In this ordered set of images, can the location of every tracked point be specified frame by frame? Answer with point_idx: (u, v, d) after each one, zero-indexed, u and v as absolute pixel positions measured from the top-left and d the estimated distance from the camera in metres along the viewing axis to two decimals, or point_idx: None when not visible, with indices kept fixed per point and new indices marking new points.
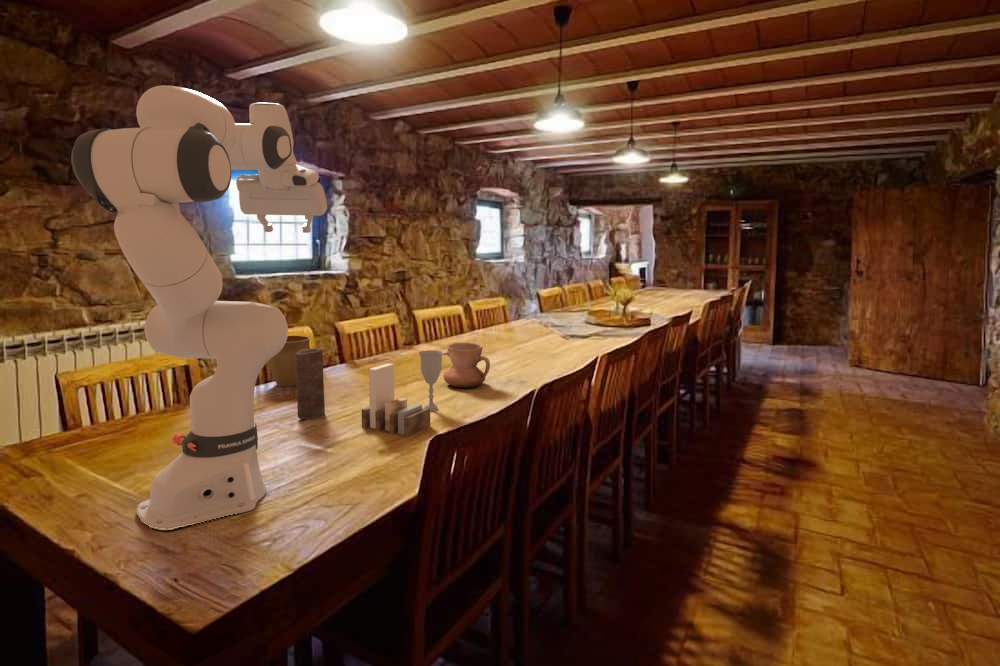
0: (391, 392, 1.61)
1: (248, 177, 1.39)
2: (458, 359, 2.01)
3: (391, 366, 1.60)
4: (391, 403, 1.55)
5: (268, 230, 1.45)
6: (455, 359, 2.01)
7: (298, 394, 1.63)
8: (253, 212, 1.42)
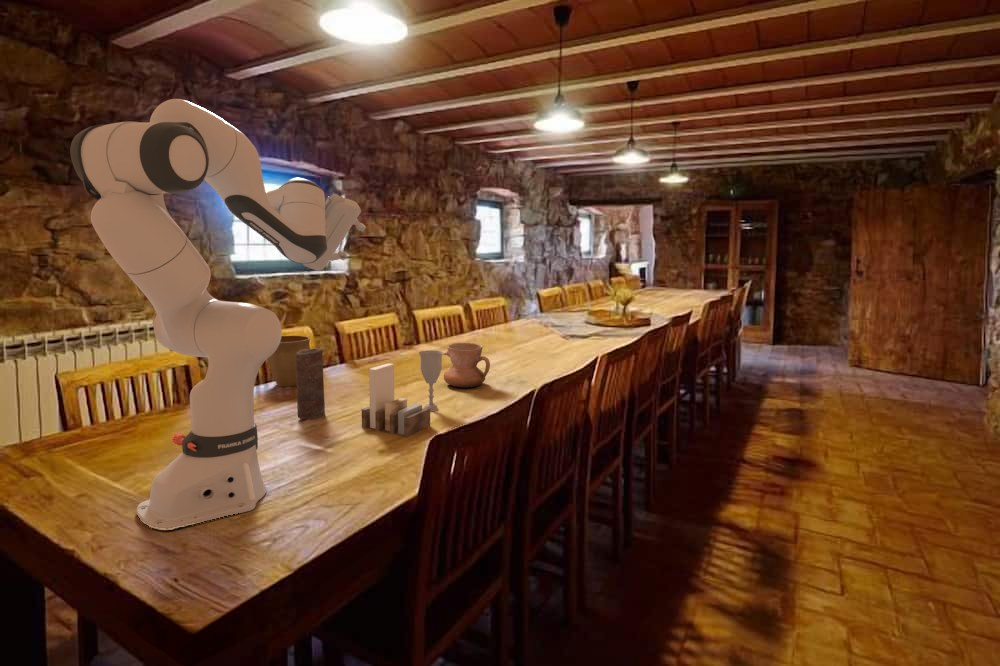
0: (391, 392, 1.61)
1: None
2: (458, 359, 2.01)
3: (391, 366, 1.60)
4: (391, 403, 1.55)
5: None
6: (455, 359, 2.01)
7: (298, 394, 1.63)
8: None
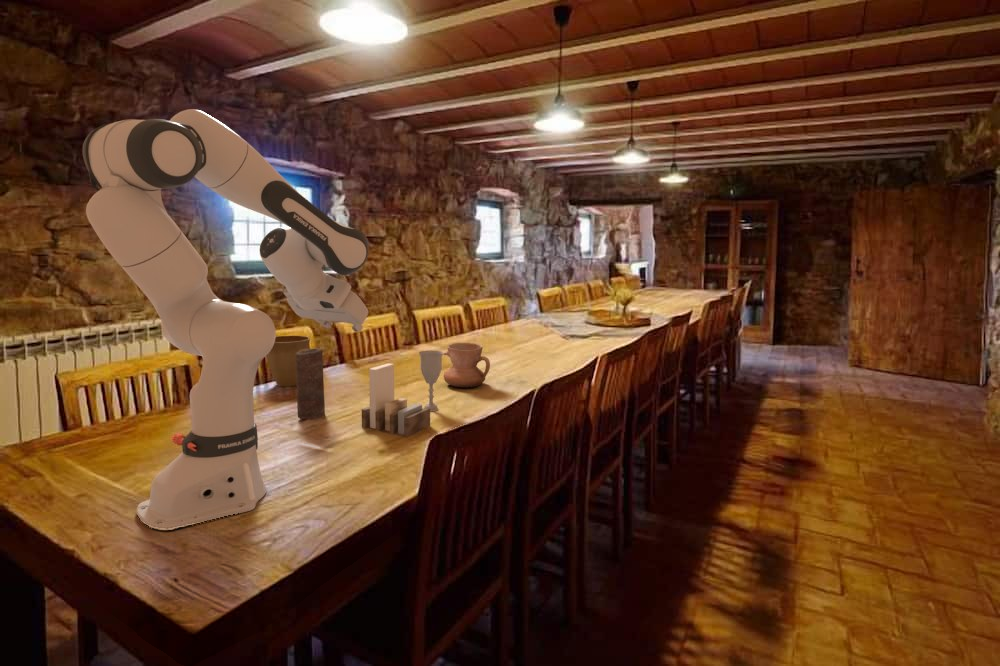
0: (391, 392, 1.61)
1: None
2: (458, 359, 2.01)
3: (391, 366, 1.60)
4: (391, 403, 1.55)
5: (327, 327, 1.44)
6: (455, 359, 2.01)
7: (298, 394, 1.63)
8: (307, 317, 1.41)
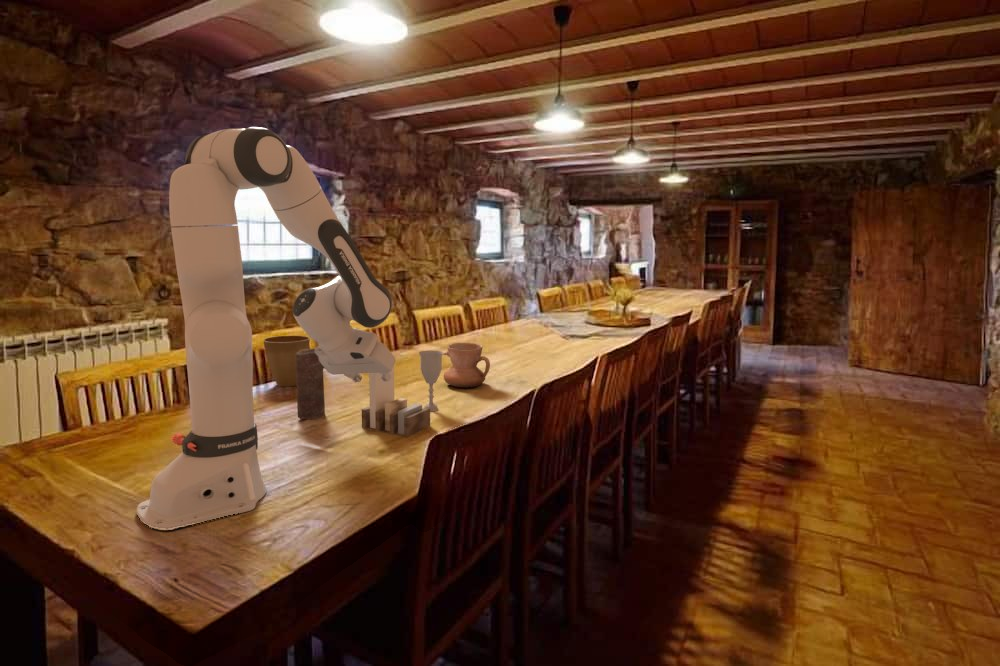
0: (391, 392, 1.61)
1: (321, 349, 1.46)
2: (458, 359, 2.01)
3: None
4: (391, 403, 1.55)
5: (357, 381, 1.52)
6: (455, 359, 2.01)
7: (298, 394, 1.63)
8: (338, 373, 1.50)
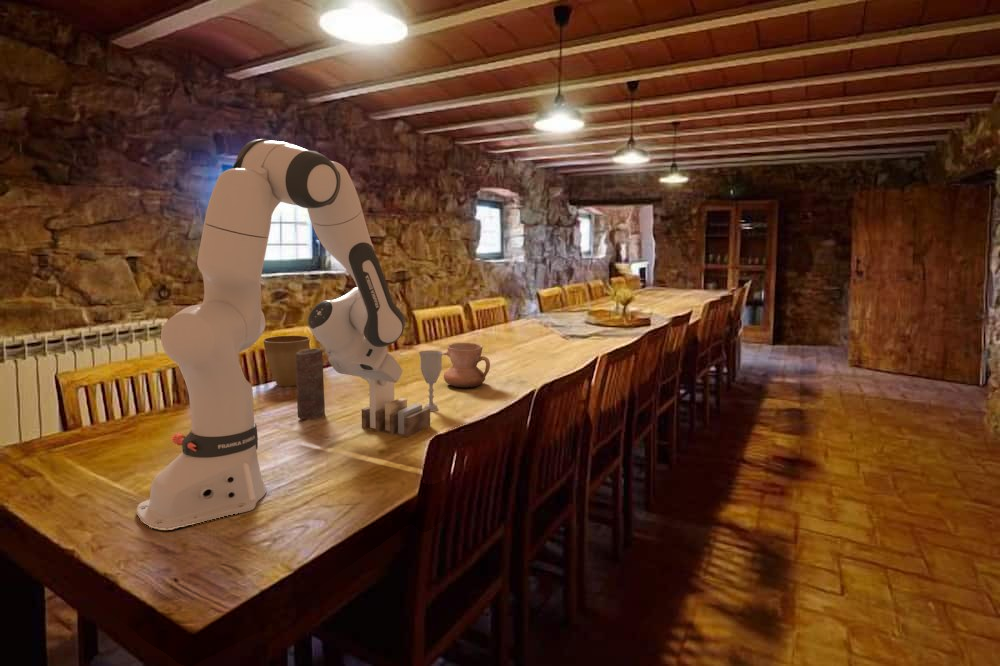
0: (391, 392, 1.61)
1: None
2: (458, 359, 2.01)
3: None
4: (391, 403, 1.55)
5: None
6: (455, 359, 2.01)
7: (298, 394, 1.63)
8: None
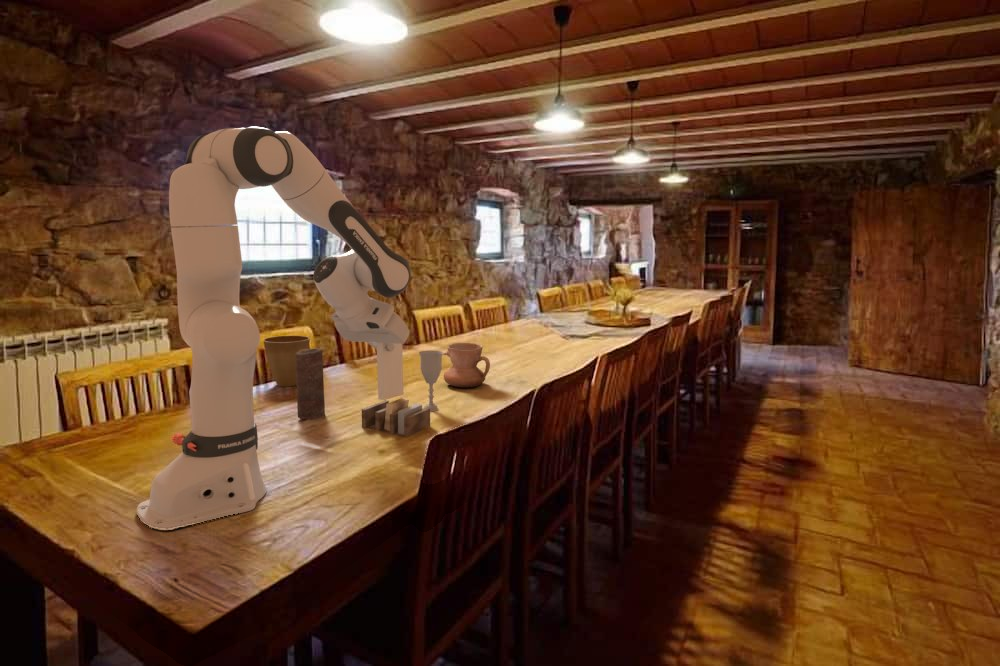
0: (399, 364, 1.58)
1: (338, 316, 1.49)
2: (458, 359, 2.01)
3: None
4: (393, 403, 1.55)
5: None
6: (455, 359, 2.01)
7: (298, 394, 1.63)
8: (352, 340, 1.53)
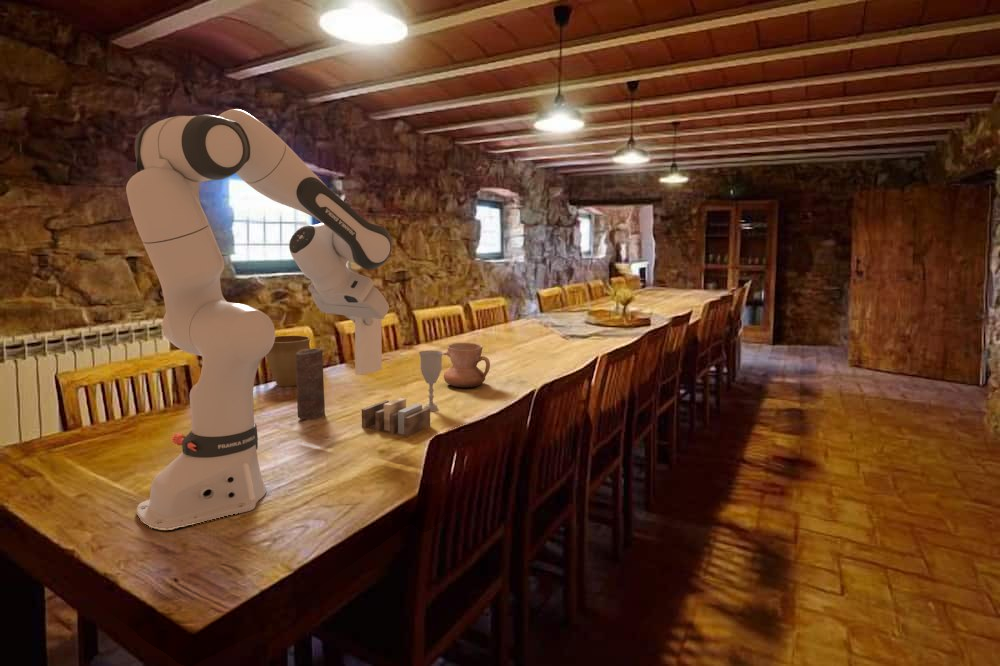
0: (378, 339, 1.54)
1: (315, 287, 1.43)
2: (458, 359, 2.01)
3: None
4: (390, 403, 1.55)
5: None
6: (455, 359, 2.01)
7: (298, 394, 1.63)
8: (330, 312, 1.48)
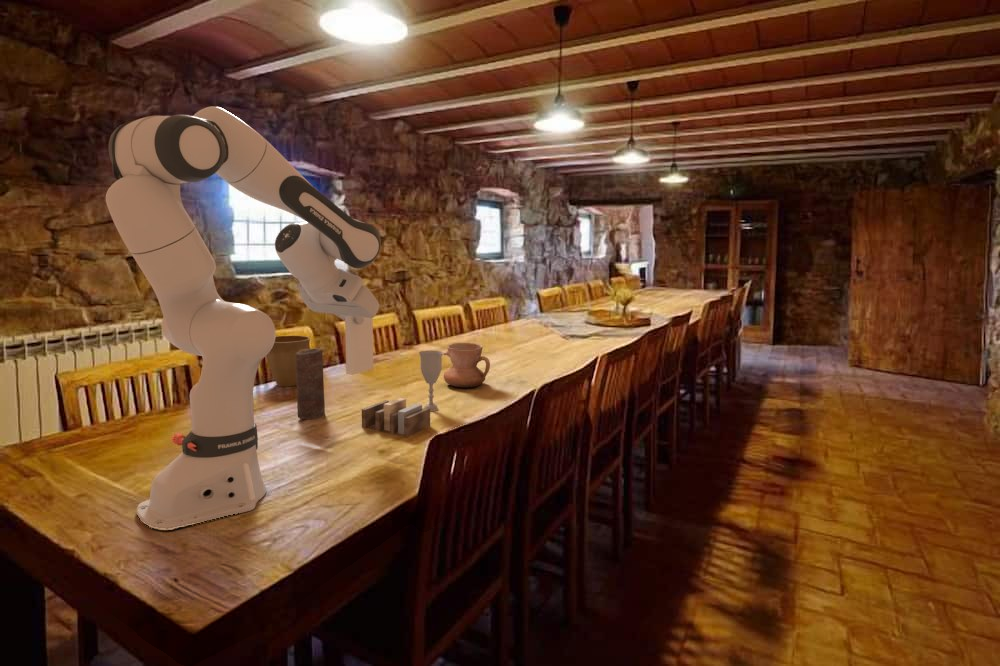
0: (369, 337, 1.51)
1: None
2: (458, 359, 2.01)
3: None
4: (390, 403, 1.55)
5: None
6: (455, 359, 2.01)
7: (298, 394, 1.63)
8: (319, 311, 1.45)
